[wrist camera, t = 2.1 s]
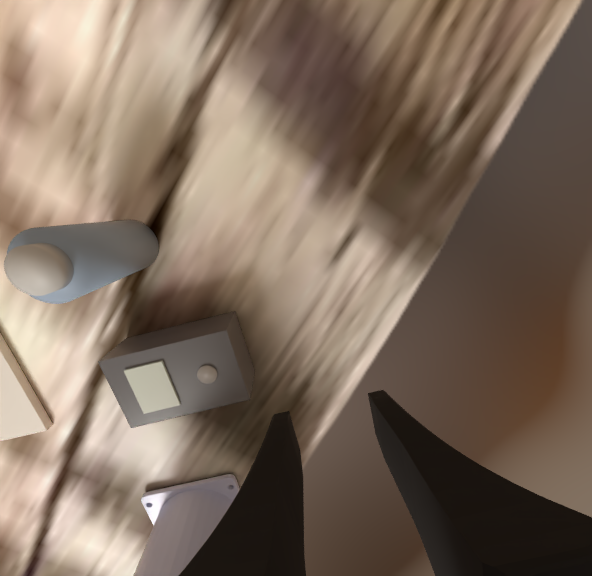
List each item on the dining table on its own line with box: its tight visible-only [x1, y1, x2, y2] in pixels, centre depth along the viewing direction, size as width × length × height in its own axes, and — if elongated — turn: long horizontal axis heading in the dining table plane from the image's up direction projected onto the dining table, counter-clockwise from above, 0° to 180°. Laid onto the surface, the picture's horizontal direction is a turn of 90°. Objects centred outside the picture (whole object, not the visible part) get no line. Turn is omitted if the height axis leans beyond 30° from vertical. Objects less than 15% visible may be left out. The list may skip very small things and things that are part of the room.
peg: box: [4, 220, 159, 304], centre depth 15 cm, size 3×3×8 cm
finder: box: [98, 311, 255, 428], centre depth 19 cm, size 5×8×4 cm, turn 104°
